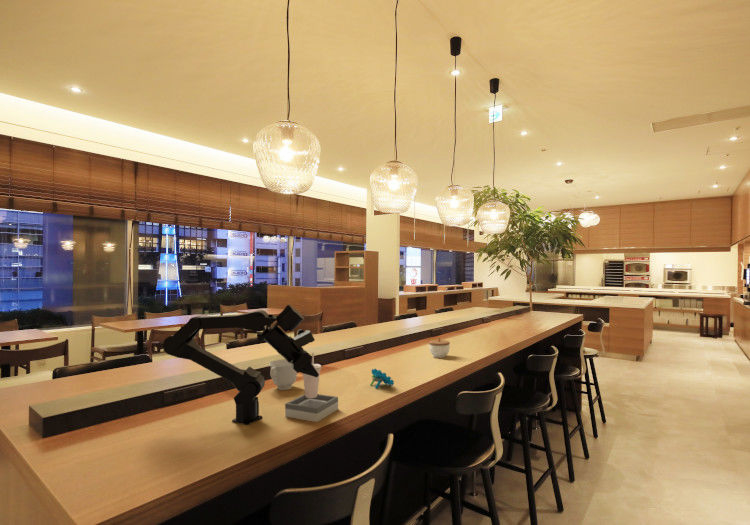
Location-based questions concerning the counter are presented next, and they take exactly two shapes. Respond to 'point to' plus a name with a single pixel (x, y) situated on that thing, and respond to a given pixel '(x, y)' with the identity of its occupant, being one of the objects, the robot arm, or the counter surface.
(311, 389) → the smoothie
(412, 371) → the counter surface
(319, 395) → the socket box
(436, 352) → the lidded jar
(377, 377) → the blue bumpy figure
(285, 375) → the teacup
